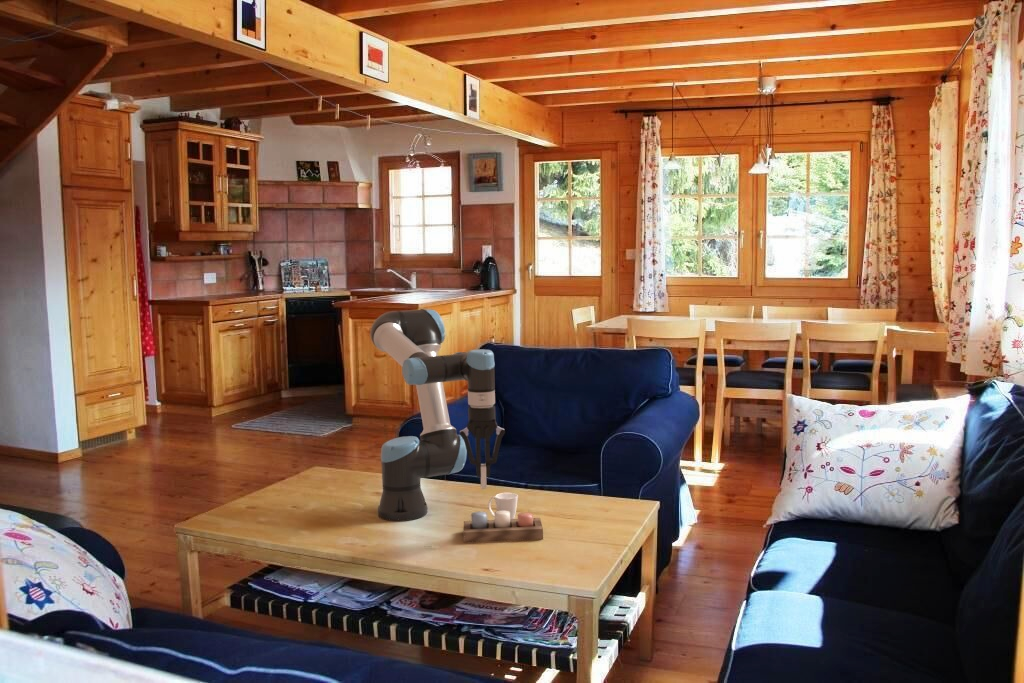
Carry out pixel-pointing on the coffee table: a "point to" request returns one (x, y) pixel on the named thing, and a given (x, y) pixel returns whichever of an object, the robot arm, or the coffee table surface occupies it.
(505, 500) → the cup
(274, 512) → the coffee table surface
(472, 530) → the brown compartment tray
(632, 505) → the coffee table surface
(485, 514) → the blue egg
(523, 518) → the pink egg
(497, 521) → the cream rounded knob
